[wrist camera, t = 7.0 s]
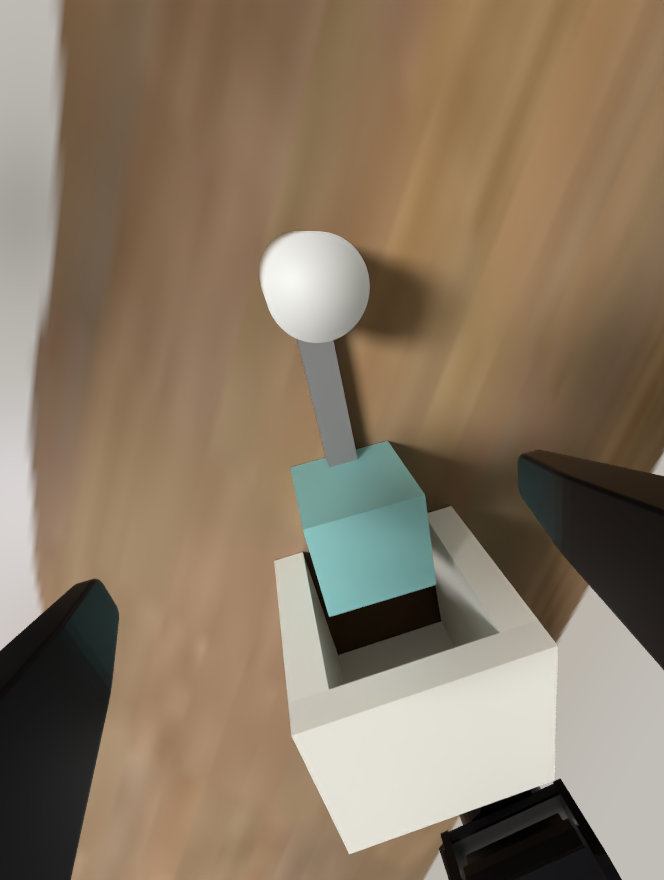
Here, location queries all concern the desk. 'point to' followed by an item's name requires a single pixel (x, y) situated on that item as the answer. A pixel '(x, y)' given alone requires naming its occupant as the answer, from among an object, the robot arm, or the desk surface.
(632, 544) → the robot arm
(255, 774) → the desk surface
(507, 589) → the white box
